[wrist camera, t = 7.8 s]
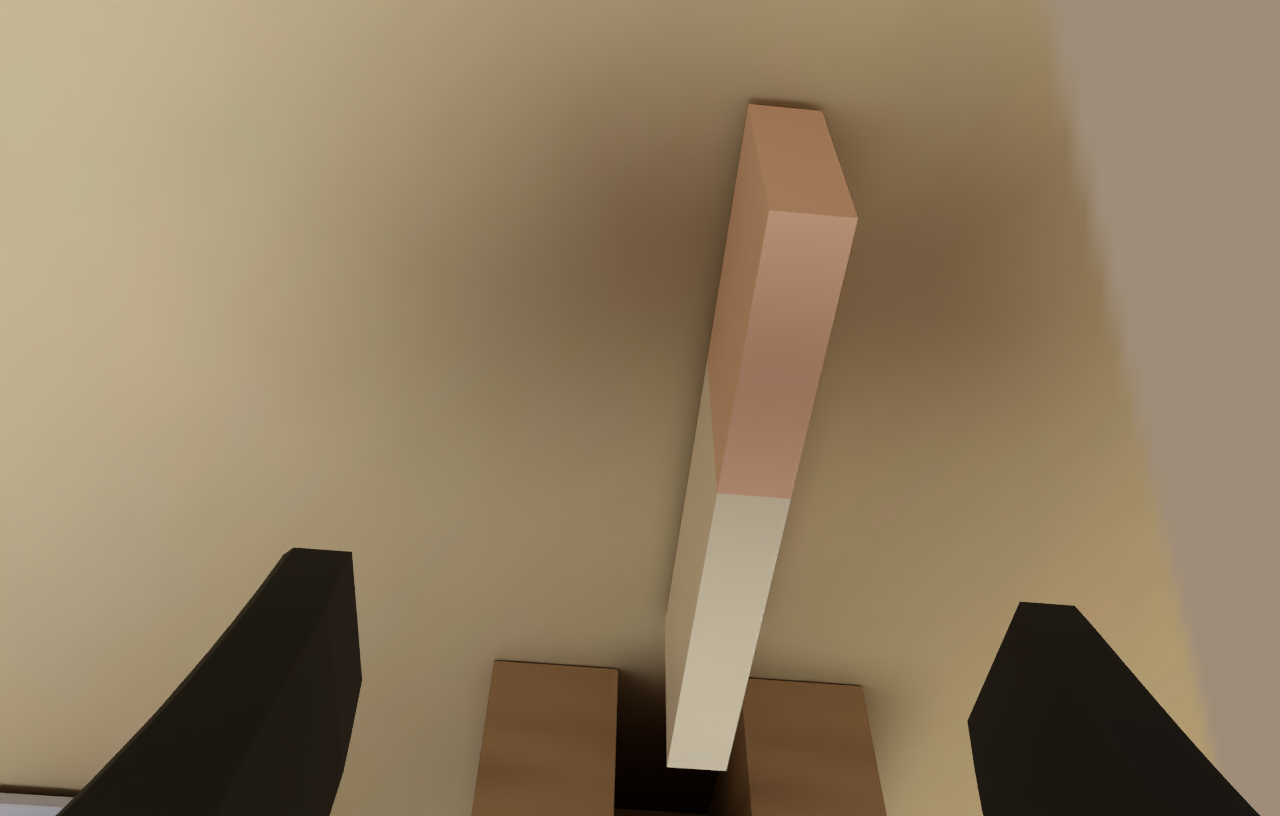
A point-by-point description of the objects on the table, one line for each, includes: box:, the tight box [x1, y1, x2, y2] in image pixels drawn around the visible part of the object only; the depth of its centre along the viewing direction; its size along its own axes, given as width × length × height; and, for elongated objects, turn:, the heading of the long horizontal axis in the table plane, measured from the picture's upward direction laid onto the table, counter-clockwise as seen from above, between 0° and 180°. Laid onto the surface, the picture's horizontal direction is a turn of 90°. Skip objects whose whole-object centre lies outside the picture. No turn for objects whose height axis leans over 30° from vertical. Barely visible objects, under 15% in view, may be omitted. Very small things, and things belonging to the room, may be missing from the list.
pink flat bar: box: [665, 104, 858, 771], centre depth 20 cm, size 12×1×4 cm, turn 175°
